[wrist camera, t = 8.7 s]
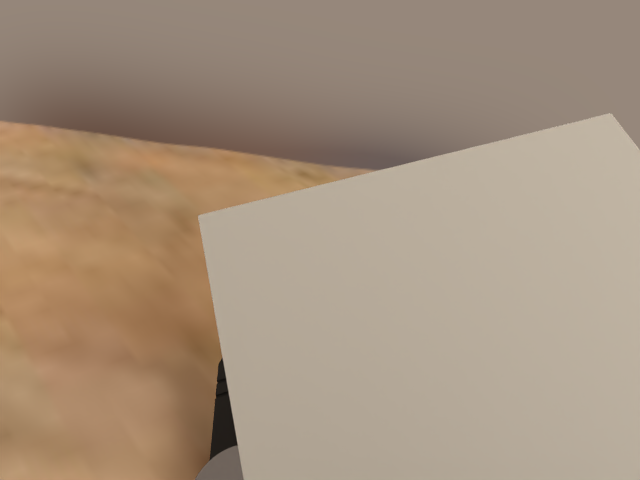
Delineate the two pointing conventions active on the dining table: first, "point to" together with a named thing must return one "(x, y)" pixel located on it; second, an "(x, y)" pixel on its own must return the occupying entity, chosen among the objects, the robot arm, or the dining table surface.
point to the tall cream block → (440, 316)
